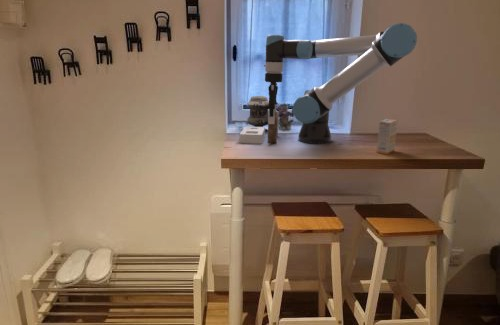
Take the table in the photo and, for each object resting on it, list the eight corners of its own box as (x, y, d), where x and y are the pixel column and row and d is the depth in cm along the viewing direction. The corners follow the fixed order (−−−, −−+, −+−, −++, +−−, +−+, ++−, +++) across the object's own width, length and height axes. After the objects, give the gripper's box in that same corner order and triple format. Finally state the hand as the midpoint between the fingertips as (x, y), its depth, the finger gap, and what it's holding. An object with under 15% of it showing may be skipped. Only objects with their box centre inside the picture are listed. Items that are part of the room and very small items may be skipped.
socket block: (264, 134, 184) (265, 126, 183) (261, 143, 165) (261, 134, 164) (245, 134, 185) (245, 126, 184) (239, 142, 166) (239, 134, 165)
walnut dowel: (276, 141, 169) (277, 111, 165) (276, 143, 165) (277, 112, 161) (268, 141, 169) (268, 111, 166) (267, 143, 165) (268, 112, 162)
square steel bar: (277, 135, 182) (278, 111, 179) (277, 137, 178) (278, 112, 175) (269, 135, 183) (270, 111, 179) (269, 137, 179) (269, 112, 176)
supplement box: (383, 149, 157) (386, 118, 154) (394, 150, 154) (398, 119, 151) (375, 152, 151) (379, 120, 148) (387, 154, 148) (391, 122, 145)
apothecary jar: (259, 128, 202) (260, 94, 197) (274, 131, 193) (275, 96, 188) (242, 130, 195) (242, 96, 190) (257, 134, 186) (258, 98, 181)
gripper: (267, 71, 171) (265, 116, 177) (262, 73, 147) (261, 125, 153) (283, 71, 170) (281, 117, 176) (281, 74, 147) (279, 126, 152)
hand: (272, 121), depth 165 cm, fingers open, 13 cm apart
